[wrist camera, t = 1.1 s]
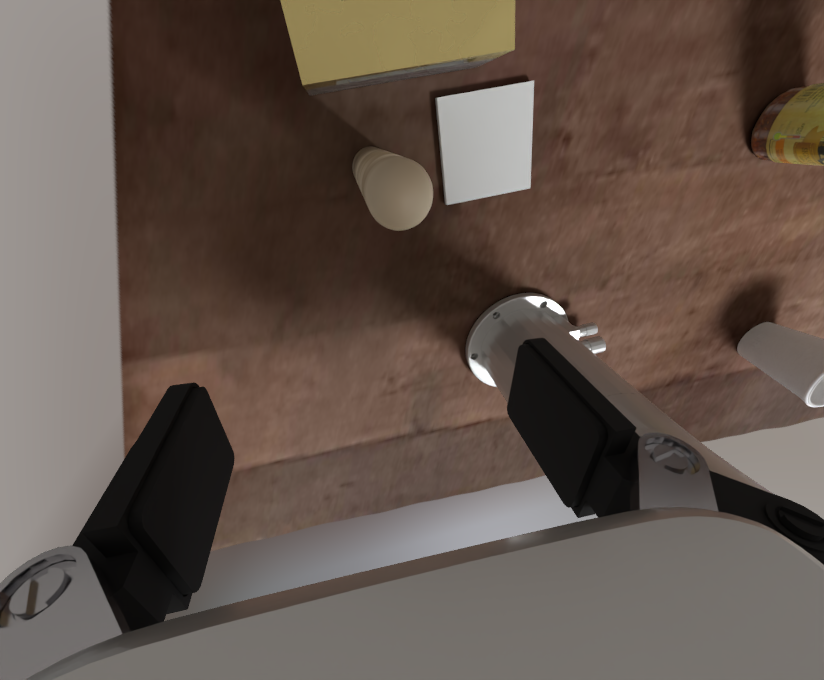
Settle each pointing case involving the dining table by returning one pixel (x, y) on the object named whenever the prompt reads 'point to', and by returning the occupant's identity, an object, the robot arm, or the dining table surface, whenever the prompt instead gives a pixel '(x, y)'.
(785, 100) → the sauce bottle
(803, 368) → the dixie cup
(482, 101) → the pad
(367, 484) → the dining table surface
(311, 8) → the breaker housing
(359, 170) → the beige cylinder rod
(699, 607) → the robot arm
